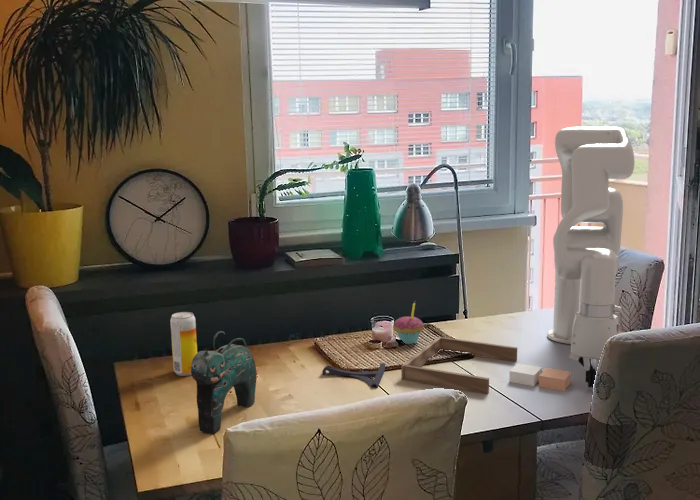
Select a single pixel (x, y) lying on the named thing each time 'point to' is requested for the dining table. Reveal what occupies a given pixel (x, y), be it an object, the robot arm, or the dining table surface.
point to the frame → (450, 379)
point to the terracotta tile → (555, 379)
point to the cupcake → (408, 328)
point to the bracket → (359, 374)
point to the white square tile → (525, 374)
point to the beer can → (183, 342)
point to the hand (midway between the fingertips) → (592, 386)
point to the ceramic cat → (222, 381)
